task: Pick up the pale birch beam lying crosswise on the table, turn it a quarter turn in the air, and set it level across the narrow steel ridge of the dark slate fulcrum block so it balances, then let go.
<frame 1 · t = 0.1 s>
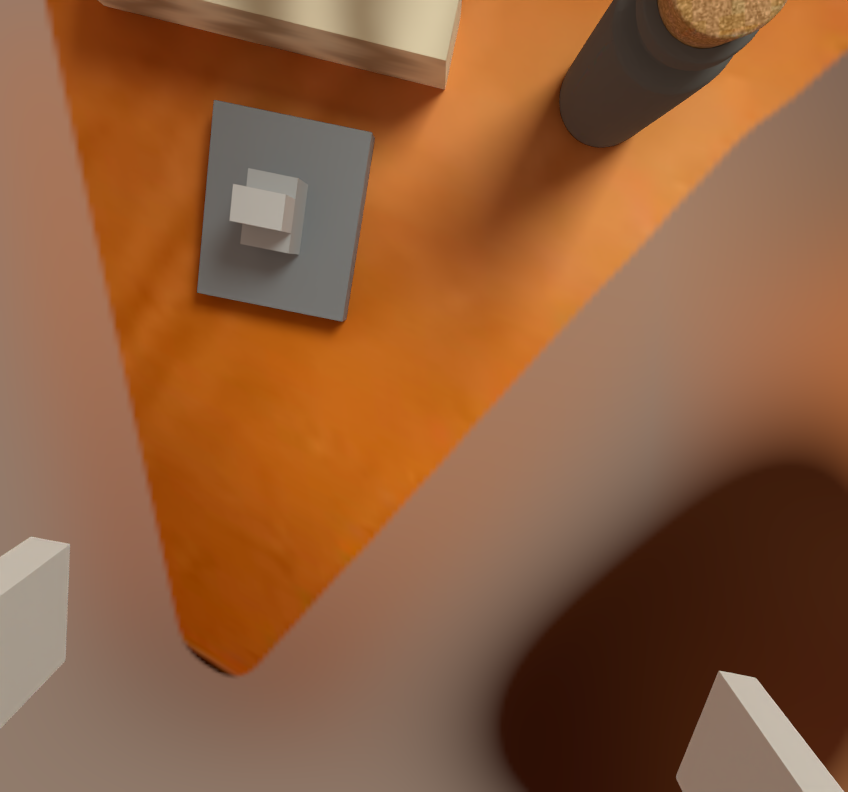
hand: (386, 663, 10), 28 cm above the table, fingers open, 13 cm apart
beam: (282, 14, 33), on the table
bottle: (603, 99, 33), on the table
fulcrum: (287, 217, 35), on the table
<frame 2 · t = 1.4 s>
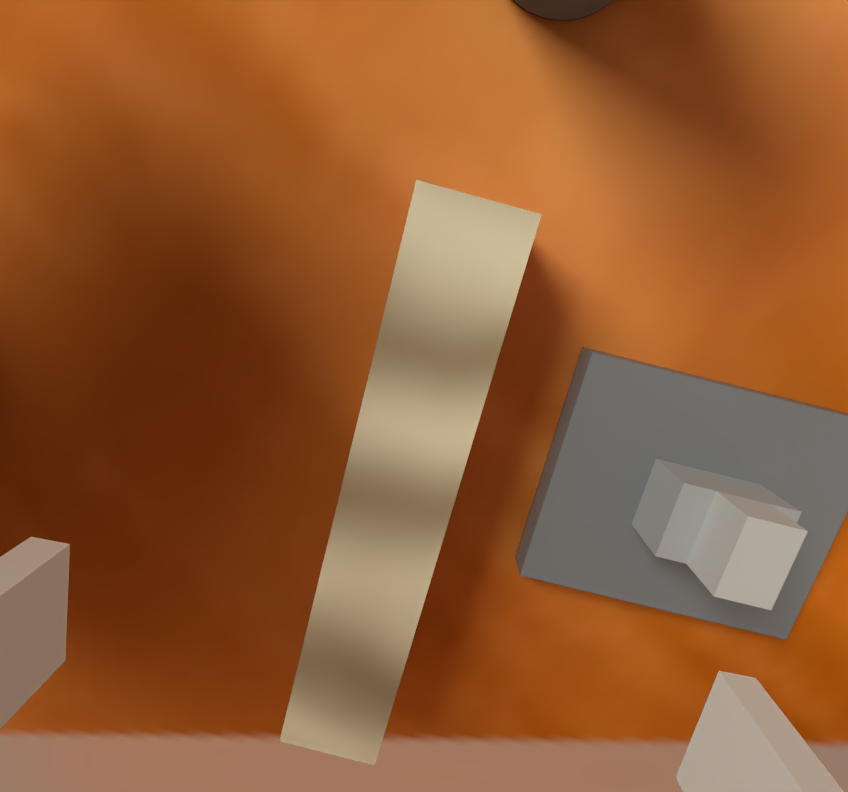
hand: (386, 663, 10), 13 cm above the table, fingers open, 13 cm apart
beam: (403, 463, 23), on the table
fulcrum: (679, 489, 23), on the table
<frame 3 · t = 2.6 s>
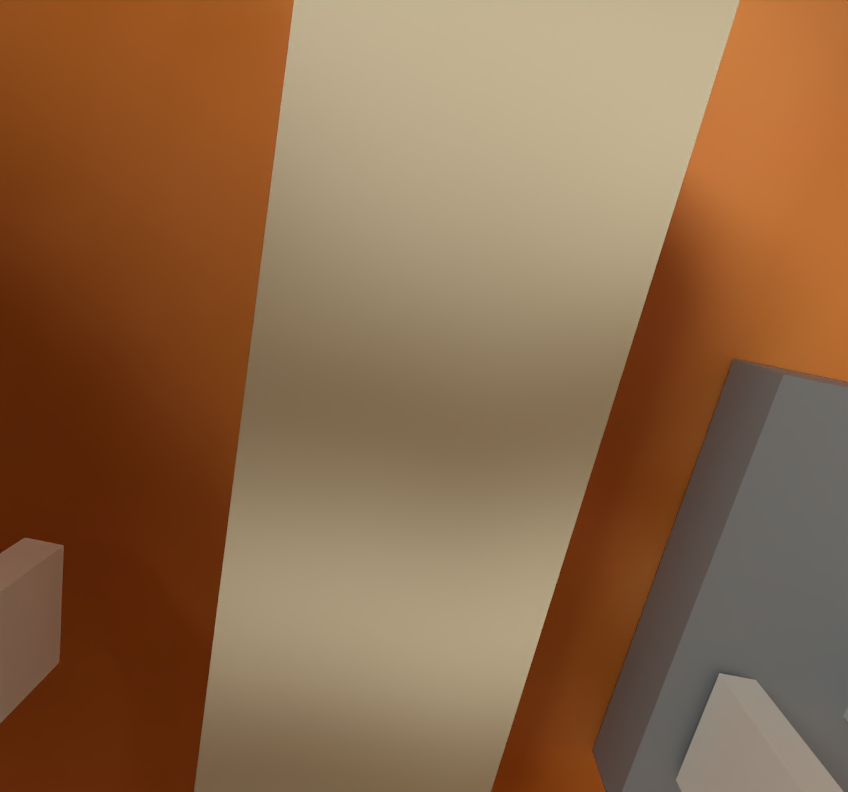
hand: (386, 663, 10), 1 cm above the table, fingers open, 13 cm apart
beam: (373, 594, 12), on the table
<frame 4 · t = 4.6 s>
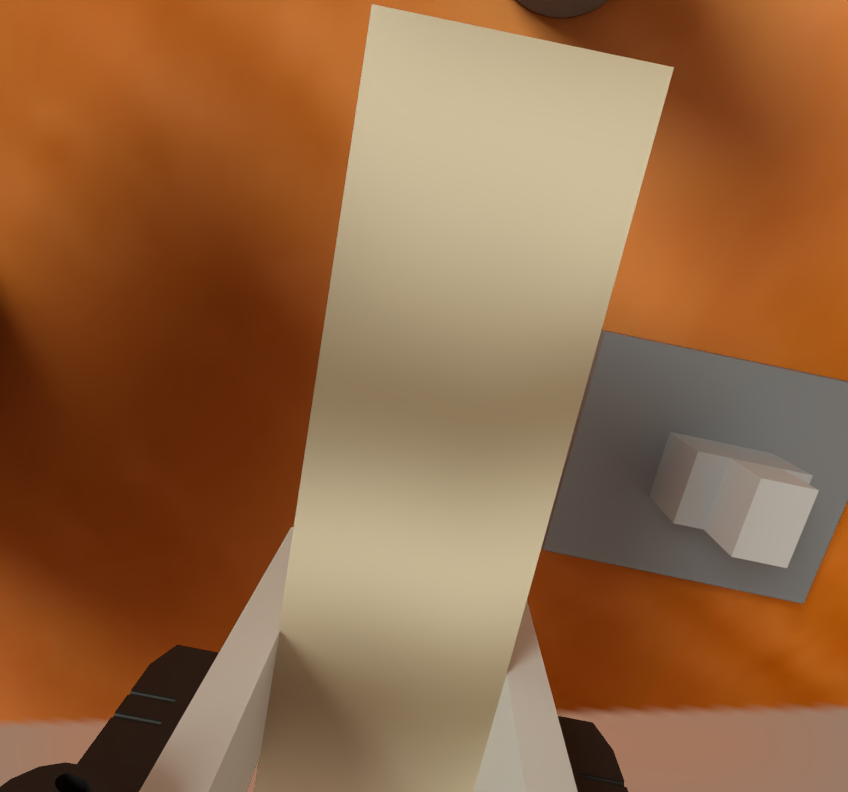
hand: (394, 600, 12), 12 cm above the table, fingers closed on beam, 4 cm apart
beam: (399, 567, 14), point 10 cm above the table, touching gripper
fulcrum: (693, 462, 24), on the table
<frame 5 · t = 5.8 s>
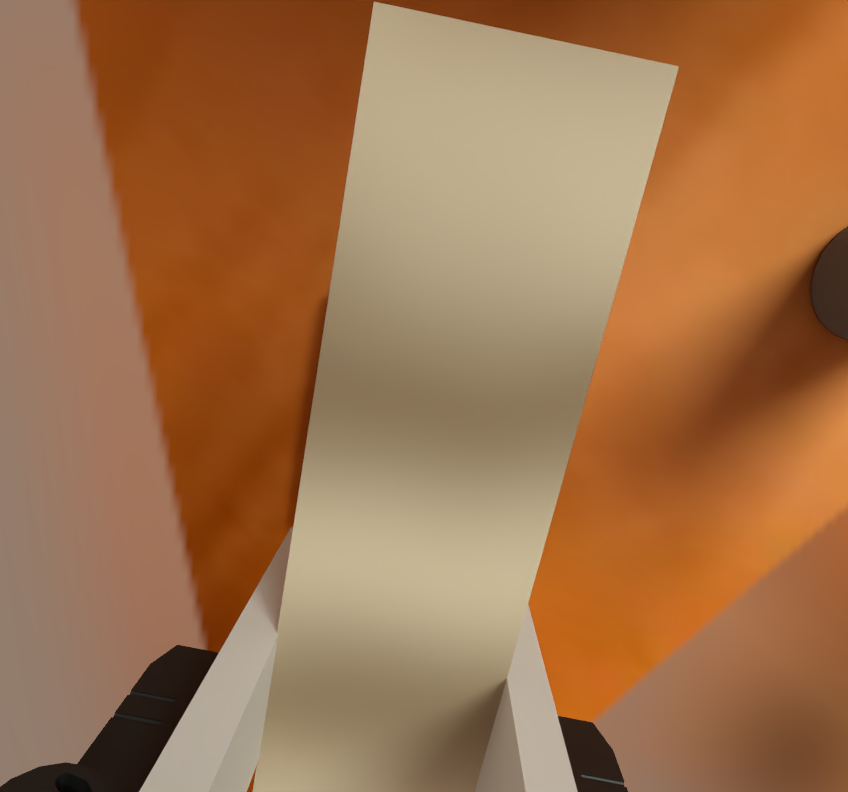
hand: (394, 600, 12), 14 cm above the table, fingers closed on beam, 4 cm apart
beam: (399, 569, 14), point 13 cm above the table, touching gripper
when the fingers open (5 cm above the table, at t = 7.1 s): beam stays where it is, resting on fulcrum.
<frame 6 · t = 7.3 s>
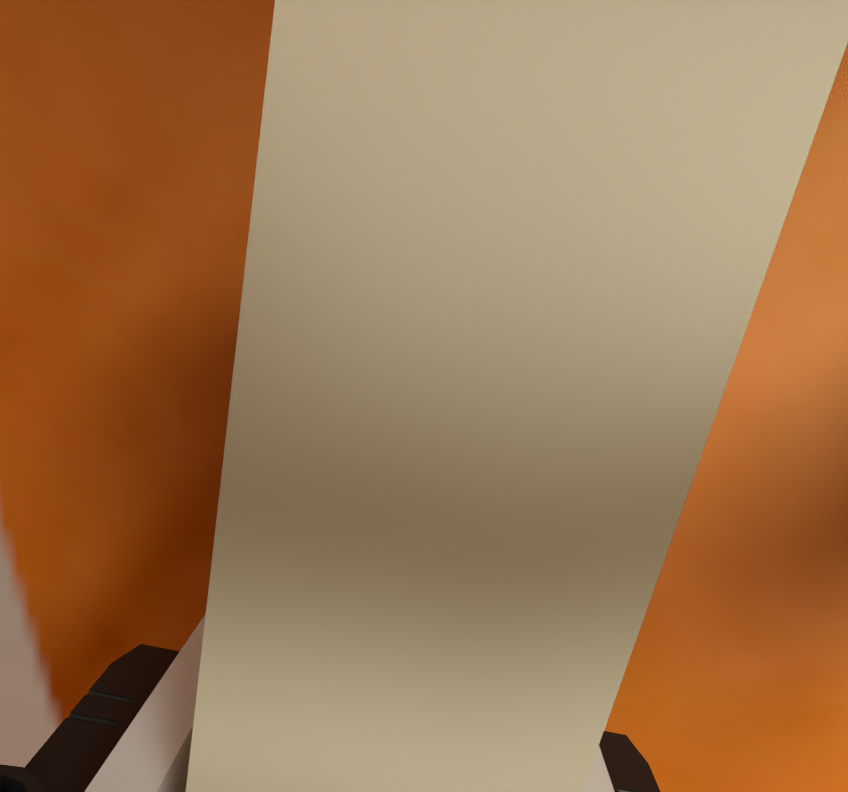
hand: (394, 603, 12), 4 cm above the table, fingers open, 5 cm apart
beam: (382, 664, 11), point 6 cm above the table, touching fulcrum
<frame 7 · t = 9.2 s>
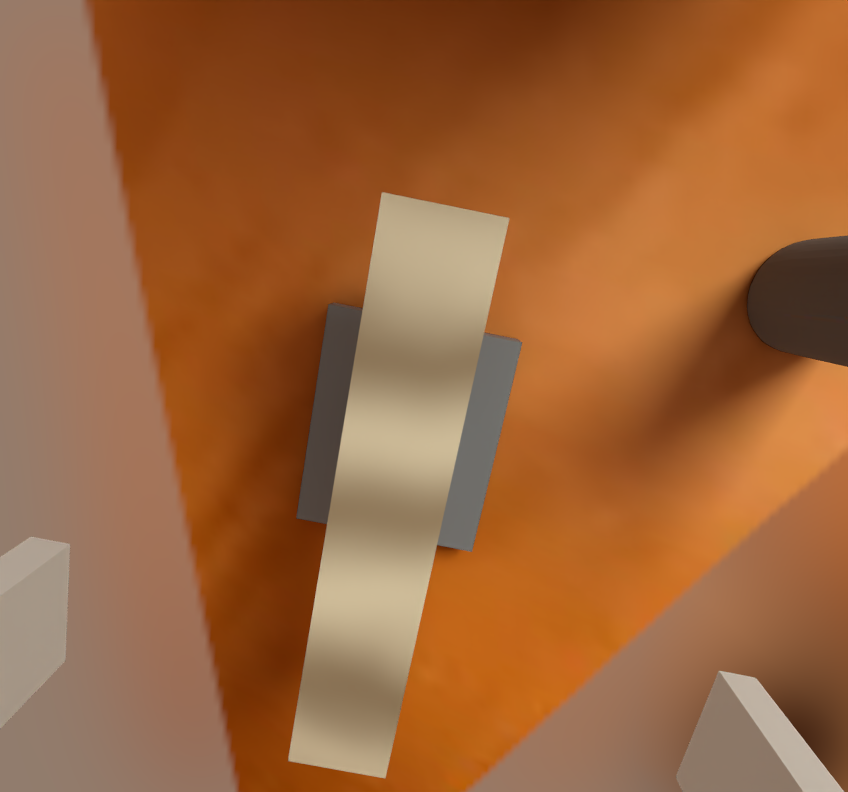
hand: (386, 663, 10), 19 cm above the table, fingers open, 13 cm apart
beam: (394, 473, 23), point 6 cm above the table, touching fulcrum
bottle: (799, 297, 27), on the table
fulcrum: (405, 426, 29), on the table
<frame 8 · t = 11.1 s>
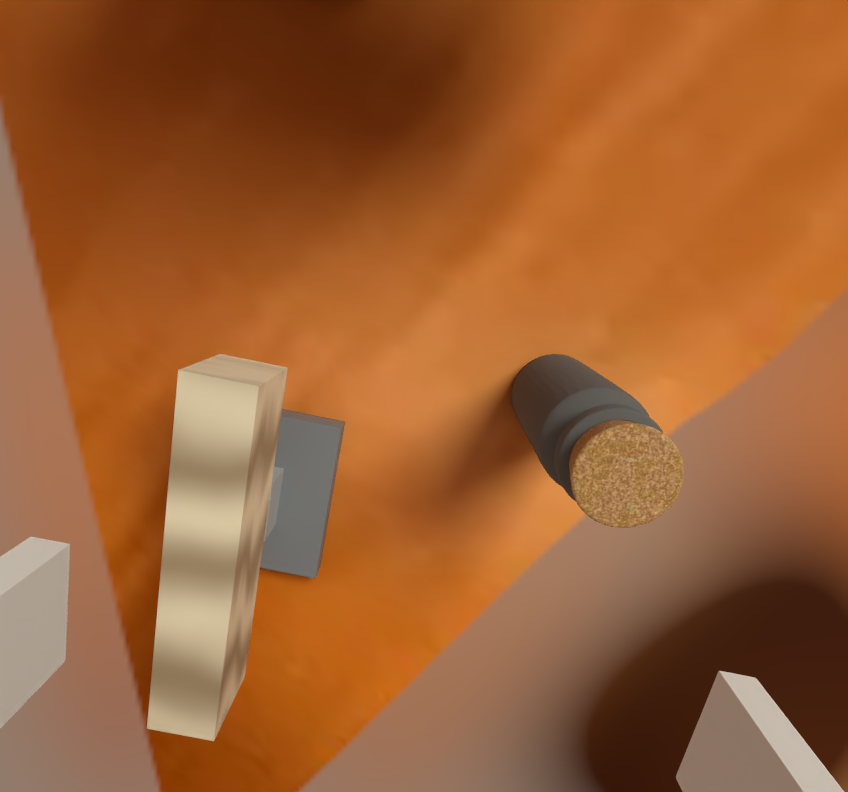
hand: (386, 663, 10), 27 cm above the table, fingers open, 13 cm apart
beam: (233, 528, 33), point 6 cm above the table, touching fulcrum
bottle: (551, 393, 36), on the table
fulcrum: (266, 484, 39), on the table
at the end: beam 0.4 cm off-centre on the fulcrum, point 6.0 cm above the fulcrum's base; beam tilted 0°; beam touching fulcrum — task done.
